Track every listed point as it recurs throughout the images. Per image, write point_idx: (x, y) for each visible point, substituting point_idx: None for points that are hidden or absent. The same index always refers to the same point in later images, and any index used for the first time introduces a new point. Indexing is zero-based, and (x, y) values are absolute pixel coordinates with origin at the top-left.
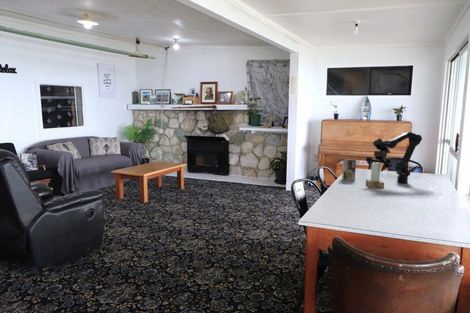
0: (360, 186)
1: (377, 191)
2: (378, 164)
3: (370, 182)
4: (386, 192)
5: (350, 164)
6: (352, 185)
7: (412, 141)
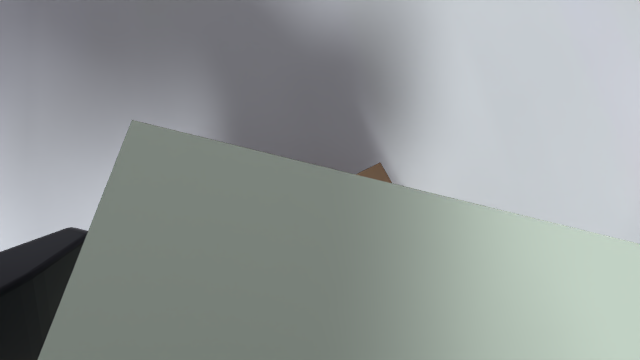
0: (506, 194)
1: (220, 12)
2: (99, 266)
3: (369, 169)
4: (103, 20)
5: None
6: (630, 193)
7: None
